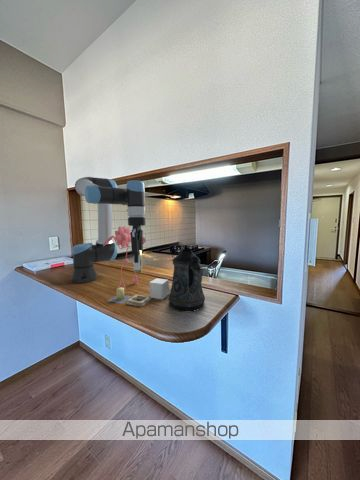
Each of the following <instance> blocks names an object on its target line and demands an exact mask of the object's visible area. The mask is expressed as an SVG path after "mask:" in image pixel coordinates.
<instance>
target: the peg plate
mask: <svg viewBox="0 0 360 480" xmlns="http://www.w3.org/2000/svg"><path fill="white" fill-rule="evenodd" d="M115 290H116V295H115V296H113V297H112V298H109V299H108V300H107V302H109V303H110V302H111V303H115V304H121V305H123V304H124V303H127V300H128V299H130V298H132V297H133V295H125V288H124V286H123V287H122V286H121V287H120V286H119V288H116V289H115Z"/></svg>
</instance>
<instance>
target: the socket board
mask: <svg viewBox="0 0 360 480" xmlns="http://www.w3.org/2000/svg"><path fill="white" fill-rule="evenodd" d="M132 296H133V295H132ZM150 301H152V298H151V297H150V295H144V294H135V295H134V296H133V297H132V298H130V299H128V300H127V301H126V305H130V306H135V307H143V306H145V305H146V304H147V303H149V302H150Z"/></svg>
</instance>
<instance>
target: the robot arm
mask: <svg viewBox="0 0 360 480" xmlns="http://www.w3.org/2000/svg"><path fill="white" fill-rule="evenodd" d="M74 189H75V191H76V193H77V194H79V195H80V196H82V197H84V199H85V201H86V203H87V204H93V205H97V240H96V241H95V244H93V242H86V243H79V244H76V245H74V246H73V247H72V265H73V270H72V274H71V277H70V282H71V283H73V284H85V283H91V282H94V281H96V280H97V279H98V275H97V272H96V269H95V267H94V263H100V262H102V263H103V262H109V261H113V260H115V259H116V258H117V255H118V245H116V242H115V240H114V239H113V238H112V239H111V241H110V242H109V243H108V244H106V245H105V246H103V244H104V243H105V241H106V240H107V239H108V238H110V237H111V236H113V205H120V206H121V205H122V206H126V207H127V209H126V212H127V216H128V218H127V224H128V226H131V227H132V229H131V231H130V235H131V242H130V243H131V244H130V245H131V247H130V248H131V256H132V257H133V263H134V264H133V271H134V270H140V255H139V250H142V254H145V253H144V244H143V237H144V231H143V229H142V227H143V226H146V218H145V216H146V203H145V201H146V197H145V183H144V182H143V181H141V180H136V179H135V180H128V181H126V188H121V187H118V185H117V183H116V181H115V180H114V179H111V178H110V179H109V178H103V177H94V176H93V177H92V176H85V177H80V178H78V179H77V180H76V181H75V184H74Z"/></svg>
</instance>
